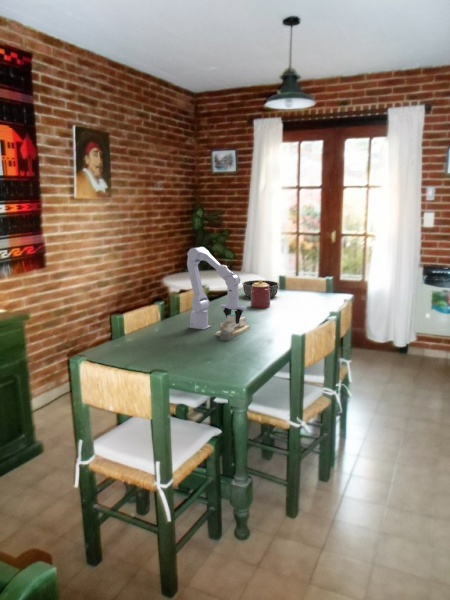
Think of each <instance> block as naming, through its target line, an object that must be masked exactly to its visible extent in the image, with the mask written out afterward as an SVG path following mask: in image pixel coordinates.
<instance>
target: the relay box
mask: <svg viewBox="0 0 450 600" xmlns="http://www.w3.org/2000/svg"><path fill="white" fill-rule="evenodd" d="M233 338H234V337H233V336H232V332H225V331H224V332H221V333H220V336H219V340H221V341H226V342H229V341H231V340H233Z"/></svg>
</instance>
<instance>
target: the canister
mask: <svg viewBox="0 0 450 600" xmlns="http://www.w3.org/2000/svg"><path fill="white" fill-rule="evenodd" d="M258 280H259V281H258V282H257V283H254V284H253V285H252V288H251V298H250V307H251V308H254V309H268V308H270V307H271V298H270V288H269V287H268V286H269V285H268V284H267V283H263V282H262V279H258Z"/></svg>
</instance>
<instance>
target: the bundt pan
mask: <svg viewBox="0 0 450 600" xmlns="http://www.w3.org/2000/svg"><path fill="white" fill-rule="evenodd" d="M259 280H260V279H258V280H257V279H256V280H248V281H247V280H246V281H243V282H242V288H243V292H244V293H243V294H244V295H245V296H246V297H249V298H250V299H251V288H252V285H253V284H254V283H257V282H258V281H259ZM261 280H262V279H261ZM262 282H263V283H267V284H268V285H269V286H268V287H269V288H270V299H271V298H273V297H275V296H276V295H277V294H278V291H279V286H280V283H279V282H276V281H273V280H264V279H263V280H262Z"/></svg>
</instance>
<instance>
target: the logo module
mask: <svg viewBox="0 0 450 600" xmlns="http://www.w3.org/2000/svg"><path fill="white" fill-rule="evenodd" d="M226 321H227V322H234V328H235V327H237V326H239V323H238V324H236V316H235V313H231V314H230V315H228V316H227V318H226Z"/></svg>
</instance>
